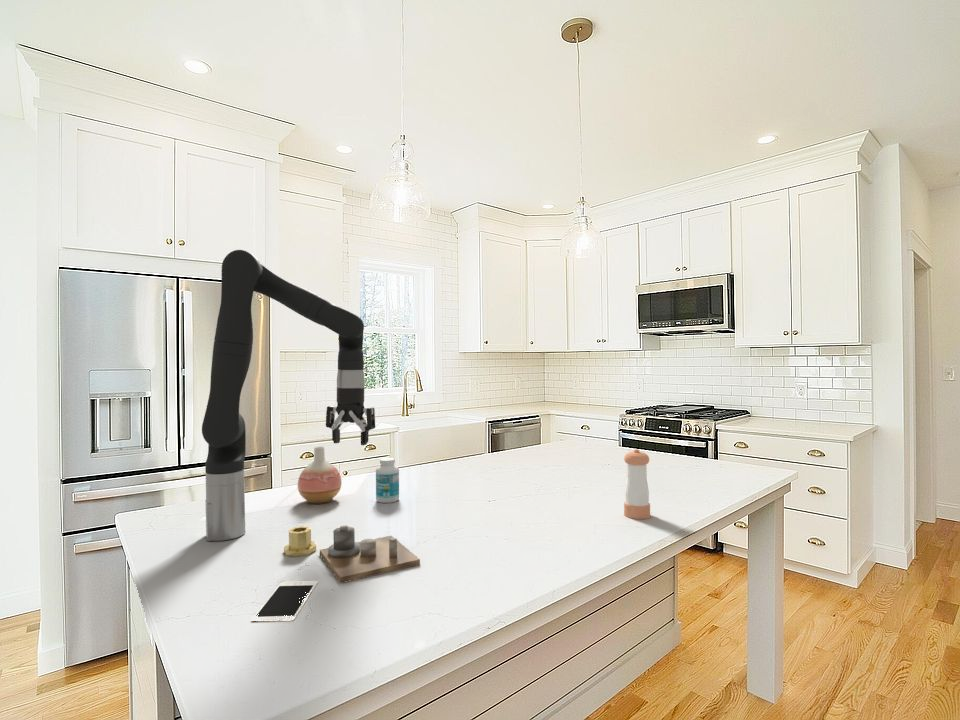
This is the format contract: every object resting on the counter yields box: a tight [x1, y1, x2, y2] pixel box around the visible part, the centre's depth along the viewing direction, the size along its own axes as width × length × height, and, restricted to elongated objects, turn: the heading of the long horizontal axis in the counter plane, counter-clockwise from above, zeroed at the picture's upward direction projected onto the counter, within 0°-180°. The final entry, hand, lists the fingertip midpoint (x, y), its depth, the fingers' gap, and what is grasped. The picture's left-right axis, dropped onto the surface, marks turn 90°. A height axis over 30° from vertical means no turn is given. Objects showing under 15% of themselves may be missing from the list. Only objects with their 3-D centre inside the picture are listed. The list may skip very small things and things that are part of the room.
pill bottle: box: [375, 457, 400, 504], centre depth 170 cm, size 8×7×14 cm
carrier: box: [319, 525, 421, 584], centre depth 121 cm, size 18×18×7 cm
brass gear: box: [283, 525, 317, 558], centre depth 127 cm, size 7×7×5 cm
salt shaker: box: [623, 448, 651, 520], centre depth 151 cm, size 7×7×19 cm
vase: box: [297, 446, 343, 505], centre depth 170 cm, size 14×14×18 cm
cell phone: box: [256, 580, 319, 621], centre depth 102 cm, size 8×16×1 cm, turn 2°
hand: (350, 443), depth 146 cm, fingers open, 8 cm apart
